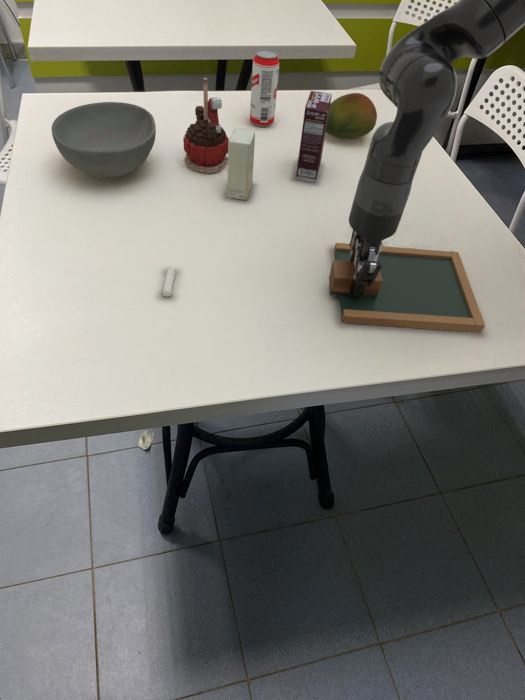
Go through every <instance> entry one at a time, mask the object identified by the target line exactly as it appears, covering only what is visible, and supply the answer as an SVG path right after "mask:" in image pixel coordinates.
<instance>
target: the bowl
mask: <svg viewBox="0 0 525 700" xmlns="http://www.w3.org/2000/svg"><path fill="white" fill-rule="evenodd" d="M156 133H157V127H156V121H155V118H154V116H153V114H152V113H151V112H149V111H148V110H147V109H146V108H144V107H142V106H139V105H137V104H133V103H128V102H119V101H101V102H91V103H87V104H82V105H78V106H76V107H72V108H70V109H67V110H65V111H64V112H62V113H60V114H58V116H57V117H56V118H55V119H54V121H53V122H52V124H51V134H52V139H53V141H54V144H55V146H56V149H57V150H58V152H59V154H60V155H61V156H62V158H63V159H64V160H65V161H66V162H67V163H68V164H69V165H70V166H72V167H73V168H75V169H76V170H78V171H80V172H81V173H85V174H86V175H90V176H93V177H99V178H117V177H122V176H125V175H128V174H130V173H132V172H134V171H136V170H138V169H139V168H140V167H141V166H142V165H144V163H145V162H146V161H147V159H148V157H149V155H150V153H151V151H152V149H153V148H154V144H155V141H156V136H157V135H156Z"/></svg>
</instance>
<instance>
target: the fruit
mask: <svg viewBox="0 0 525 700" xmlns="http://www.w3.org/2000/svg"><path fill="white" fill-rule="evenodd" d="M377 120H378V113H377V108H376V106H375V104H374V102H373V101H372V100H371V99H370V97H368V96H367V95H365V94H363V93H360V92H351V93H346V94H343V95H341V96H339V97H337V98H336V99H334V100H332V102H331V103H330V109H329V115H328V121H327V127H326V133H327V134H328V135H329V136H331V137H334V138H337V139H342V140H354V139H355V140H356V139H359V138H363V137H365V136H366V135H369V134H370V133H371V132H372V131H373V130H374V128H375V127H376V125H377Z"/></svg>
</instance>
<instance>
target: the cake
mask: <svg viewBox="0 0 525 700" xmlns="http://www.w3.org/2000/svg"><path fill="white" fill-rule="evenodd" d="M202 80H203V81H202V84H203V85H202V87H203V88H202V89H203V90H202V91H203V105H197V106H195V108H194V113H195V116H196V117H195V118H196V120H195V123H190V125H189V127H187V128H186V129H187V130H185V133H184V137H183V139H182V140H183V150H184V152H185V157H183V158H184V160H183V161H184V163H185V165H186V166H187V167H188V168H190V167H191V169H192V170H195V171H199V172H200V173H203V172H206V173H214V172H219V170H223V169H224V168H225V167H226V166H228V141H229V139H230V137H228V135H227V132H226V130H225V129H224V128H223V127H222V126H221V124H220V121H219V120H220V119H219V114H218V112H219V111H218V110H220V109H222V108H223V102H222V98H221V97H209V93H208V91H209V84H208V83H209V81H208V77H203V78H202Z"/></svg>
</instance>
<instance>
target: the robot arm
mask: <svg viewBox="0 0 525 700" xmlns="http://www.w3.org/2000/svg"><path fill="white" fill-rule="evenodd" d="M524 26H525V0H458V1H457V2H455V3H454V4H453V5H451V6H449V7H448V8H446V9H444V10H442V11H440V12H439V13H438V14H436V15H434V16H433V17H431V18H430V19H428V20H426V21H425V22H423V23H421V24H420V25H419V26H417V27H416V28H414V29H412V30H411V31H410V32H408V33H407V34H405V35H404V36H403V37H402V38H401V39H400V40H398V41H397V42H396V43H395V44H394V45H393V47H392V48H391V49H389V51H388V52H387V55H386V56H385V58H384V59H383V61H382V63H381V65H380V69H379V73H378V84H379V87H380V90H381V92H382V93H383V94H384V96H385V97H386V98H387V99H388V100H389V101H390V102H391V103H392V104H393V105H394V106H395V107H396V114H395V118H394V120H393V121H388V122H385V123H382V124H381V125H379V126H378V127H377V128H376V130H375V131H374V133H373V135H372V138H371V141H370V144H369V147H368V151H367V155H366V156H367V157H366V159H365V163H364V166H363V169H362V172H361V174H360V176H359V179H358V181H357V182H358V183H357V186H356V190H355V193H354V198H353V201H352V205H351V209H350V213H349V216H348V223H349V226H350V228H351V229H352V231H351V236H350V241H349V244H350V248H351V252H350V257H351V258H350V261H351V262H353V264H354V266H355V272H354V276H353V281H352V284H351V288H350V291H349V294H350V296H352V297H361V296H362V295H363V292H364V289H365V286H370V287H371V286H372V284H373V282H374V280H375V279H376V277H377V275H378V273H379V271H380V269H381V267H382V265H381V262H377V259H378V255H379V253H380V252H381V248H382V246H383V241H384V240H386V239H389V238H391V237H392V236H394V235H395V234H396V232H397V230H398V228H399V225H400V222H401V220H402V217H403V214H404V212H405V208H406V205H407V203H408V200H409V197H410V194H411V191H412V185H413V181H414V177H415V174H416V172H417V169H418V167H419V163H420V161H421V158H422V154H423V151H424V150H425V149H426V147H427V146H428V144H429V143H430V142H431V140H432V139H433V137H434V136H435V134H436V132H437V131H438V129H439V128H440V127H441V125H442V123H443V122H444V120H445V119H446V118H447V116H448V115H449V113H450V111H451V109H452V107H453V106H454V102H455V99H456V95H457V90H458V75H457V73H456V69H455V67H454V66H453V65H452V63H454V62H456V61H457V60H459V59H462V58H467V59H474V60H482V59H485V58H487V57H489V56H490V55H492V54H493V53H494V52H496V51H497V50H498V49H499V48H500V47H501V46H503V45H504V44H505V43H506V42H507V41H508V40H509V39H510V38H512V37H513V36H514V35H515V34H516V33H518V31H520V30H521V29H522V28H523V27H524ZM364 260H366V261H364ZM360 269H361V270H360ZM359 271H360V272H359Z"/></svg>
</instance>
